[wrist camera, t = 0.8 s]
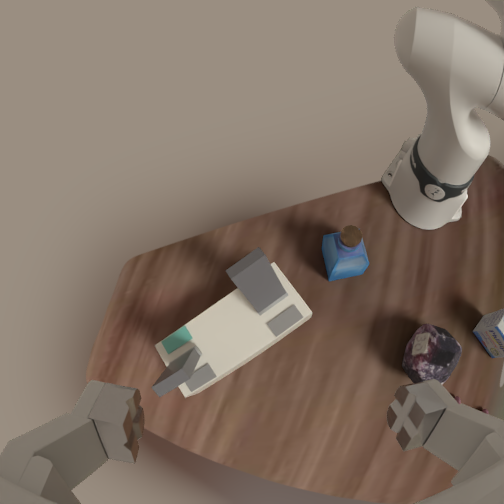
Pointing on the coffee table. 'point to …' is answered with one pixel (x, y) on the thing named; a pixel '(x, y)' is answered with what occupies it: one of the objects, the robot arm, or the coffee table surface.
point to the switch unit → (233, 334)
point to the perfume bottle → (344, 253)
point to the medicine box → (492, 333)
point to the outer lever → (177, 371)
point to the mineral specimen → (431, 354)
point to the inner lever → (257, 281)
